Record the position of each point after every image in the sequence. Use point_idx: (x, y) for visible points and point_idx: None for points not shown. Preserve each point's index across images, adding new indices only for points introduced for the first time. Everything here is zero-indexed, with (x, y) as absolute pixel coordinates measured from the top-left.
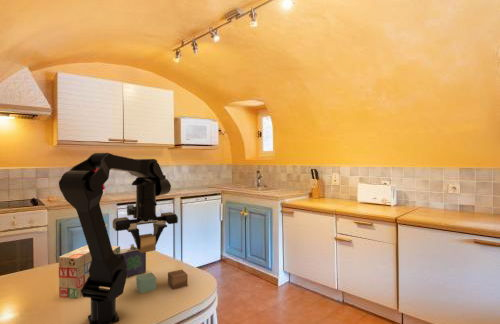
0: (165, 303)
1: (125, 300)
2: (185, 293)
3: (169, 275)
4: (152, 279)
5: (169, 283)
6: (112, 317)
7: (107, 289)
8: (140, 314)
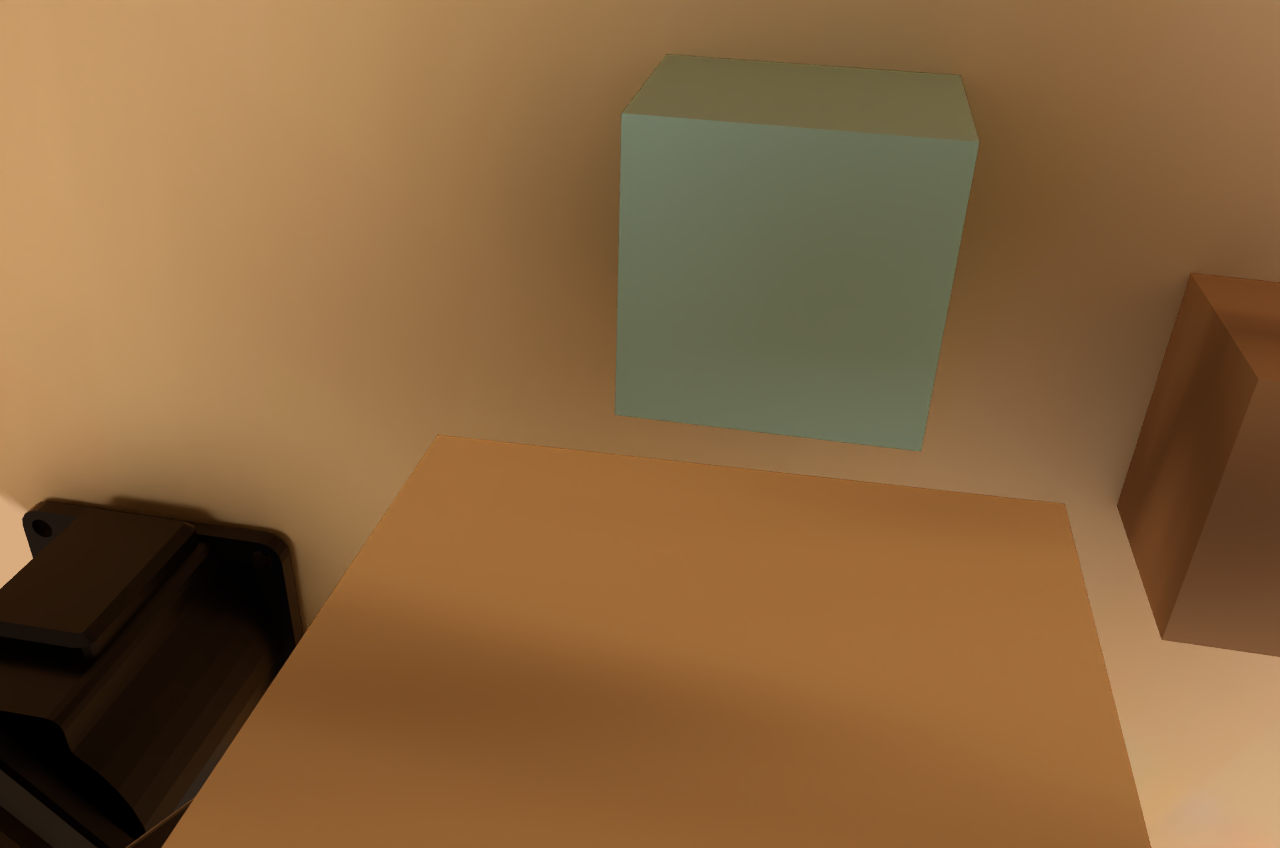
0: None
1: (428, 379)
2: (1175, 701)
3: (1215, 457)
4: (845, 431)
5: (1173, 380)
6: None
7: (34, 811)
8: None
